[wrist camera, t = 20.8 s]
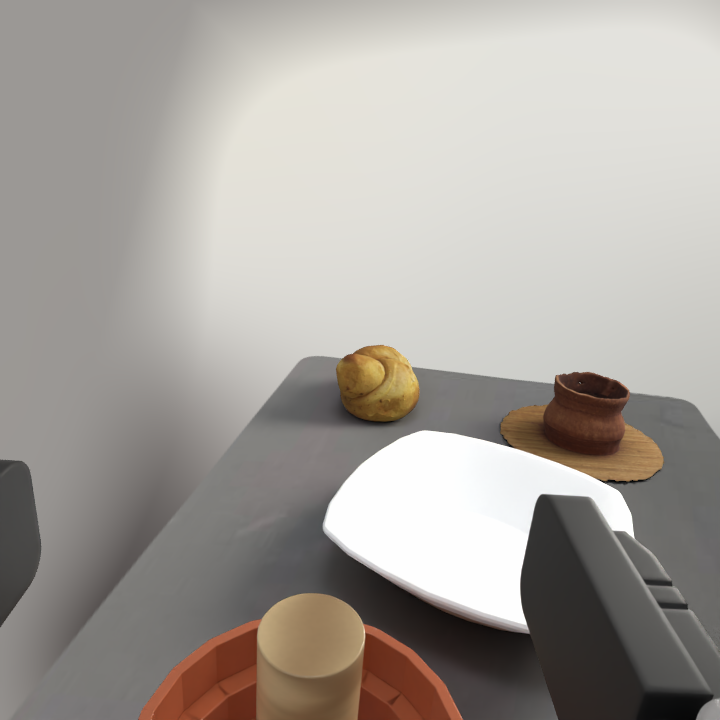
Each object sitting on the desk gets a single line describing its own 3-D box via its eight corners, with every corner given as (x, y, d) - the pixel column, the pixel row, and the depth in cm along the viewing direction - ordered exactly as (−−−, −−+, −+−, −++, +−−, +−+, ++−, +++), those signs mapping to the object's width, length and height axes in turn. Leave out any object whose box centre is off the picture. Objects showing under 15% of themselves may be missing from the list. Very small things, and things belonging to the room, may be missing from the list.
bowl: (633, 539, 52) (647, 487, 51) (590, 741, 35) (610, 673, 33) (407, 462, 62) (412, 416, 60) (282, 590, 44) (284, 530, 42)
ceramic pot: (527, 393, 80) (537, 343, 78) (672, 434, 72) (688, 380, 70) (477, 446, 66) (486, 387, 63) (651, 505, 58) (670, 440, 55)
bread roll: (344, 379, 80) (348, 322, 77) (417, 387, 80) (424, 330, 77) (330, 424, 68) (334, 358, 66) (416, 433, 68) (423, 367, 65)
